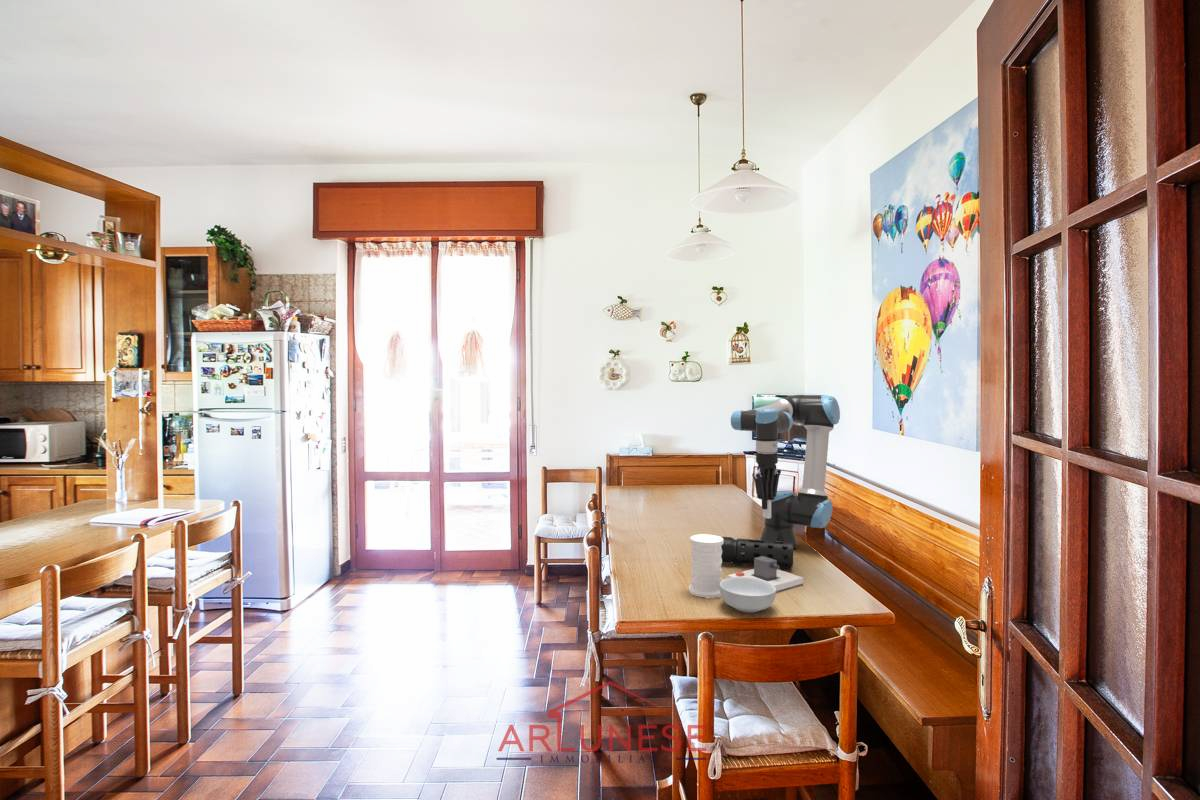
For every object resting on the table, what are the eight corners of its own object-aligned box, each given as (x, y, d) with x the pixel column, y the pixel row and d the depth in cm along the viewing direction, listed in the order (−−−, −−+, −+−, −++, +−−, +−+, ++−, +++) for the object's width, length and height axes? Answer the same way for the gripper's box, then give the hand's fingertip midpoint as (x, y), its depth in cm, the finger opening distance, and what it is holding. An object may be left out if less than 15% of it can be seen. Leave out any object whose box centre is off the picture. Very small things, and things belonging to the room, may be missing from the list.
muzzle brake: (793, 573, 220) (793, 545, 220) (715, 567, 227) (715, 539, 227) (791, 565, 229) (791, 538, 229) (716, 559, 236) (716, 533, 236)
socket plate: (766, 572, 220) (766, 563, 220) (803, 584, 207) (803, 575, 207) (727, 582, 209) (727, 572, 209) (763, 596, 196) (763, 586, 196)
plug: (753, 581, 209) (754, 558, 209) (762, 578, 212) (762, 556, 212) (773, 587, 202) (773, 564, 202) (782, 585, 205) (782, 561, 205)
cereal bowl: (736, 621, 176) (736, 597, 175) (710, 601, 192) (710, 579, 191) (786, 615, 180) (787, 591, 180) (757, 596, 196) (757, 574, 196)
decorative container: (681, 589, 202) (682, 536, 201) (708, 584, 207) (709, 532, 207) (703, 600, 192) (704, 544, 191) (731, 594, 197) (732, 540, 197)
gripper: (762, 455, 207) (763, 522, 209) (787, 451, 215) (787, 516, 216) (746, 452, 214) (746, 518, 215) (770, 449, 221) (770, 512, 222)
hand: (766, 517), depth 216 cm, fingers closed
